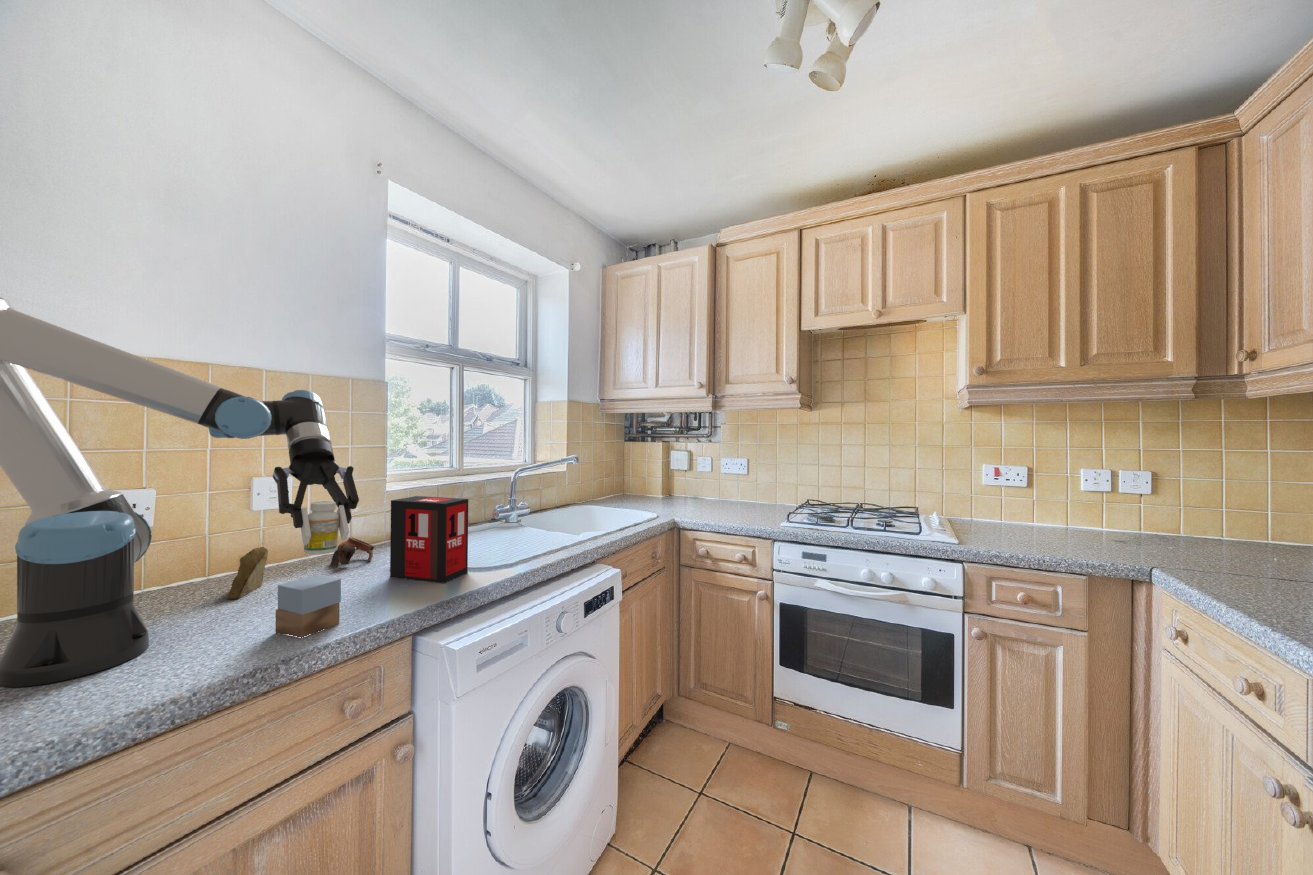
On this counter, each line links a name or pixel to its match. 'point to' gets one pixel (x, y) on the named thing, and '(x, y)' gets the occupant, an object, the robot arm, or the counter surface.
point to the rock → (249, 573)
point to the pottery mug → (350, 551)
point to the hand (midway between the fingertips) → (326, 537)
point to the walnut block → (306, 621)
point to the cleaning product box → (429, 538)
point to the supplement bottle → (323, 528)
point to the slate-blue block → (309, 594)
